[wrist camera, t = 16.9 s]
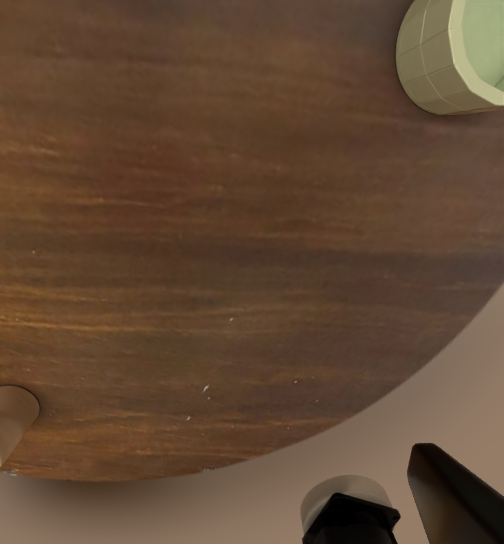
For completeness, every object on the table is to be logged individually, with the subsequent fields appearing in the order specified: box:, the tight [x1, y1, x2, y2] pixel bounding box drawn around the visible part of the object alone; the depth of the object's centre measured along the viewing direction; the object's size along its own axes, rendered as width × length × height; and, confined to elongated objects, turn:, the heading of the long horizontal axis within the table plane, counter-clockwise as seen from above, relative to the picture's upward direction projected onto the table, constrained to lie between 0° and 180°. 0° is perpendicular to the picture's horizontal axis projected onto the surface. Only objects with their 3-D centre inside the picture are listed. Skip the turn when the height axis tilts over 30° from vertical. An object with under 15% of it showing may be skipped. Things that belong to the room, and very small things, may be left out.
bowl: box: [396, 0, 504, 115], centre depth 14 cm, size 6×6×4 cm
